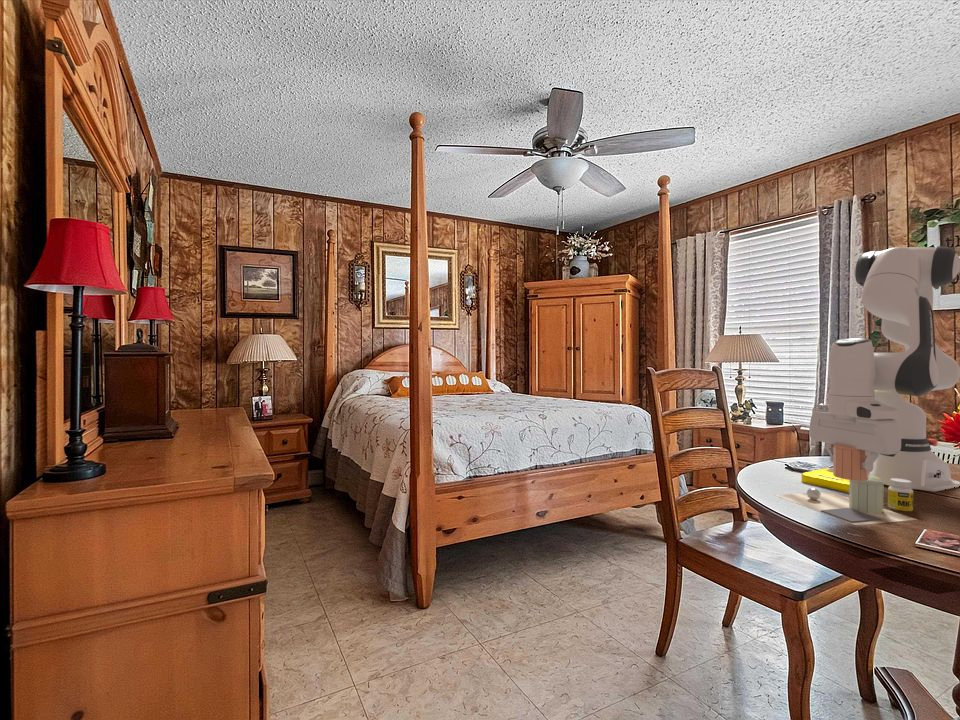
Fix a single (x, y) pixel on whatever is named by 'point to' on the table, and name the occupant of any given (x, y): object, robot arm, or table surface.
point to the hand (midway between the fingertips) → (850, 466)
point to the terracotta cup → (849, 463)
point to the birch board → (838, 502)
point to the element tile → (826, 479)
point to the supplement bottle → (900, 495)
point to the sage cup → (866, 495)
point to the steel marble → (813, 494)
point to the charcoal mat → (850, 515)
